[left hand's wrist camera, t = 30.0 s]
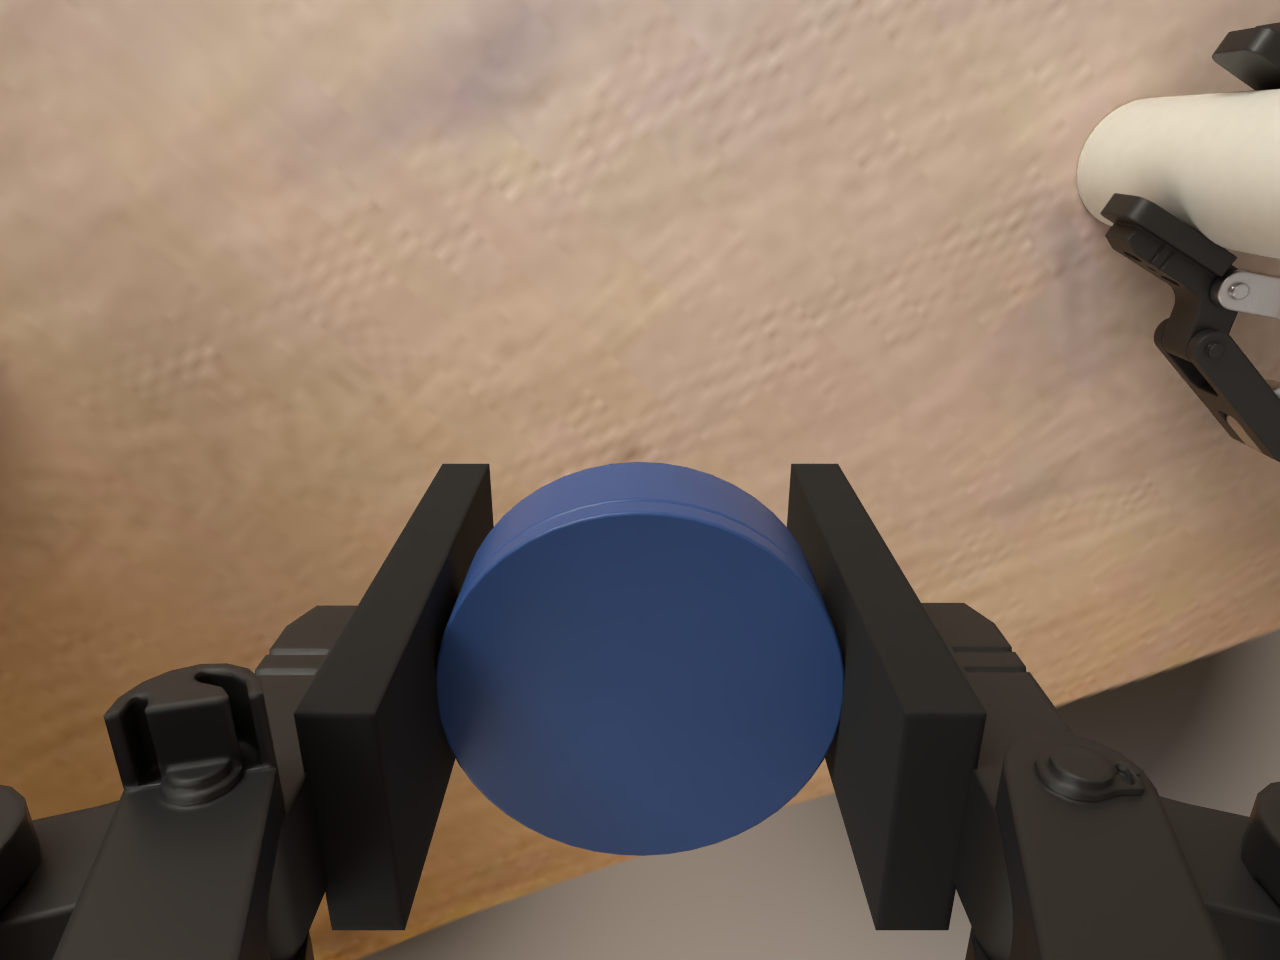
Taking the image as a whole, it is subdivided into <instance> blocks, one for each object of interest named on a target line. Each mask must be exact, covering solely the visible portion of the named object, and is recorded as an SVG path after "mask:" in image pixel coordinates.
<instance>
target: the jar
mask: <svg viewBox="0 0 1280 960" xmlns="http://www.w3.org/2000/svg"><path fill="white" fill-rule="evenodd" d="M1077 184H1078V189H1079V194H1080V196H1081V199H1082V201H1083V203H1084V205H1085V207H1086V208H1087V209H1088V211H1089V212H1090V213H1091V214H1092V215H1093V216H1094V217H1095V218H1096V219H1098V220H1099V221H1101V222H1103V223H1105V224H1107V225H1110V226H1112V225H1113V224H1114V223H1112V222H1111V221H1109V220H1107V219H1106V218H1104V217H1103V216H1102V215H1101V214H1100V213H1101V211H1102V210H1103V208H1104V207H1105V206H1106V204H1107V203H1108V201H1109V200H1110V199H1111V197H1112V196H1113V194H1114V193H1118V194H1126V195H1134V196H1139V197H1142V198H1145V199H1147V200H1149V201H1151V202H1153V203H1155V204H1157V205H1158V206H1160V207H1161V208H1163V209H1164V210H1166V211H1167V212H1169V213H1170V214H1172V215H1173V216H1175V217H1177V218H1178V219H1180V220H1181V221H1183V222H1184V223H1186V224H1187V225H1189V226H1190V227H1192V228H1193V229H1195V230H1196V231H1198V232H1199V233H1201V234H1202V235H1204V236H1206V237H1207V238H1208V239H1210V240H1211V241H1213V242H1214V243H1215V244H1217V245H1219V246H1221V247H1222V248H1224V249H1229V250H1234V251H1239V252H1244V253H1250V254H1255V255H1260V256H1265V257H1270V258H1275V259H1280V89H1271V90H1256V91H1242V92H1228V93H1214V94H1199V95H1185V96H1171V97H1157V98H1146V99H1139V100H1136V101H1132V102H1130V103H1127V104H1125V105H1123V106H1121V107H1119V108H1117V109H1116V110H1114V111H1113V112H1111V113H1110V114H1109V115H1108V116H1106V117H1105V118H1104V119H1103V120H1102V121H1101V122H1100V123H1099V124H1098V125H1097V126H1096V128H1095V129H1094V130H1093V132H1092V133H1091V134H1090V136H1089V138H1088V139H1087V141H1086V143H1085V145H1084V147H1083V150H1082V152H1081V155H1080V159H1079V163H1078V169H1077Z"/></svg>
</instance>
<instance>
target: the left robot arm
mask: <svg viewBox="0 0 1280 960" xmlns="http://www.w3.org/2000/svg"><path fill="white" fill-rule="evenodd" d="M493 528H494V527H493V512H492V498H491V483H490V469H489V464H442V466H441V468H440V469H439V471H438V473H437V474H436V476H435V478H434V479H433V481H432V483H431V484H430V486H429V488H428V489H427V491H426V493H425V494H424V496H423V498H422V499H421V501H420V503H419V504H418V506H417V508H416V509H415V511H414V513H413V514H412V516H411V518H410V520H409V521H408V523H407V525H406V526H405V528H404V530H403V531H402V533H401V535H400V536H399V538H398V540H397V541H396V543H395V545H394V546H393V548H392V550H391V551H390V553H389V555H388V556H387V558H386V560H385V561H384V563H383V565H382V566H381V568H380V570H379V571H378V573H377V575H376V576H375V578H374V580H373V581H372V583H371V585H370V586H369V588H368V590H367V592H366V593H365V595H364V597H363V598H362V600H361V602H360V603H359V605H358V606H316V607H314V608H313V609H311V610H310V611H308V612H307V613H306V614H304V615H303V616H301V617H300V618H298V619H297V620H295V621H294V622H292V623H291V624H289V625H288V626H286V628H285V629H284V631H283V632H282V633H281V635H280V636H279V638H278V639H277V640H276V642H275V643H274V645H273V646H272V647H271V649H270V650H269V651H270V653H269V655H266V656H265V657H264V659H263V660H262V661H261V663H260V664H259V666H258V667H257V668H256V670H255V674H254V673H253V672H252V671H251V670H249V669H248V668H244V667H239V666H235V665H231V664H199V665H195V666H190V667H186V668H181V669H177V670H172V671H169V672H166V673H164V674H162V675H159V676H157V677H154V678H152V679H149V680H147V681H145V682H142V683H140V684H139V685H137V686H136V687H134V688H133V689H131V690H130V691H128V692H127V693H125V694H124V695H122V696H121V697H119V698H118V699H117V700H116V701H115V703H114V704H113V705H112V706H111V707H110V709H109V710H108V711H107V712H106V713H105V715H104V719H105V723H106V726H107V730H108V734H109V737H110V741H111V745H112V748H113V752H114V755H115V759H116V763H117V766H118V770H119V774H120V777H121V781H122V784H123V788H124V791H123V794H122V796H121V798H120V800H119V801H115V802H112V803H108V804H105V805H101V806H97V807H93V808H88V809H84V810H79V811H74V812H70V813H65V814H60V815H56V816H51V817H47V818H42V819H37V820H33V821H32V819H31V816H30V813H29V810H28V807H27V804H26V801H25V798H24V797H23V796H22V795H21V794H19V793H18V792H17V791H16V790H14V789H13V788H12V787H8V786H2V785H0V960H314V956H313V949H312V943H311V938H310V933H309V929H310V927H311V924H312V922H313V919H314V917H315V915H316V912H317V910H318V907H319V905H320V903H321V900H322V898H323V895H324V893H326V898H327V904H328V910H329V915H330V921H331V926H332V930H405V927H406V924H407V921H408V917H409V914H410V910H411V907H412V904H413V900H414V897H415V893H416V890H417V887H418V883H419V880H420V877H421V873H422V870H423V866H424V863H425V860H426V856H427V853H428V849H429V846H430V843H431V839H432V836H433V832H434V829H435V826H436V822H437V819H438V816H439V812H440V809H441V805H442V802H443V799H444V795H445V792H446V788H447V785H448V782H449V778H450V775H451V772H452V768H453V765H454V761H455V756H454V754H453V752H452V750H451V748H450V746H449V745H448V742H447V739H446V736H445V734H444V731H443V728H442V725H441V722H440V714H439V706H438V696H437V686H436V665H437V656H438V652H439V648H440V645H441V641H442V637H443V634H444V631H445V628H446V626H447V623H448V621H449V618H450V615H451V613H452V610H453V608H454V605H455V603H456V600H457V598H458V595H459V592H460V590H461V587H462V585H463V582H464V580H465V577H466V575H467V572H468V570H469V567H470V565H471V563H472V561H473V559H474V556H475V554H476V552H477V550H478V549H479V547H480V546H481V544H482V543H483V541H484V540H485V538H486V536H487V535H488V533H489V532H490V531H491V530H492V529H493ZM787 528H788V530H789V531H790V532H791V534H792V535H793V537H794V538H795V540H796V541H797V543H798V544H799V545H800V547H801V549H802V551H803V553H804V555H805V557H806V559H807V561H808V563H809V565H810V567H811V569H812V572H813V575H814V577H815V580H816V582H817V585H818V587H819V590H820V592H821V595H822V597H823V600H824V602H825V605H826V607H827V610H828V613H829V615H830V618H831V620H832V623H833V625H834V628H835V631H836V634H837V637H838V640H839V644H840V647H841V650H842V657H843V664H844V670H845V676H844V690H843V700H842V709H841V718H840V722H839V725H838V728H837V731H836V734H835V737H834V740H833V742H832V744H831V746H830V748H829V750H828V752H827V754H826V756H825V760H826V763H827V766H828V770H829V773H830V777H831V780H832V783H833V787H834V790H835V793H836V797H837V800H838V804H839V807H840V810H841V814H842V817H843V820H844V824H845V827H846V830H847V834H848V837H849V841H850V844H851V848H852V851H853V854H854V858H855V861H856V865H857V868H858V871H859V875H860V878H861V881H862V885H863V888H864V892H865V895H866V898H867V902H868V905H869V909H870V912H871V915H872V919H873V922H874V925H875V929H876V930H948V929H949V924H950V918H951V913H952V907H953V901H954V896H955V890H957V892H958V894H959V897H960V899H961V902H962V904H963V906H964V909H965V911H966V914H967V916H968V918H969V921H970V923H971V926H972V928H971V933H970V938H969V943H968V948H967V954H966V959H965V960H1280V782H1276V783H1271V784H1269V785H1268V786H1267V787H1265V788H1264V789H1263V790H1262V791H1261V792H1259V793H1258V794H1257V797H1256V800H1255V803H1254V806H1253V809H1252V812H1251V815H1250V817H1246V816H1242V815H1237V814H1232V813H1228V812H1223V811H1219V810H1214V809H1210V808H1205V807H1200V806H1195V805H1191V804H1186V803H1182V802H1178V801H1175V800H1171V799H1168V798H1164V797H1161V796H1159V794H1158V792H1157V790H1156V788H1155V787H1154V785H1153V784H1152V782H1151V781H1150V780H1149V778H1148V777H1147V775H1146V774H1145V772H1144V771H1143V770H1142V769H1141V768H1139V767H1138V766H1137V765H1136V764H1134V763H1133V762H1132V761H1130V760H1129V759H1128V758H1126V757H1125V756H1124V755H1122V754H1121V753H1119V752H1117V751H1115V750H1113V749H1111V748H1109V747H1107V746H1104V745H1102V744H1100V743H1098V742H1096V741H1094V740H1090V739H1086V738H1082V737H1078V736H1075V734H1074V733H1073V732H1072V730H1071V729H1070V727H1069V726H1068V725H1067V723H1066V722H1065V720H1064V719H1063V718H1062V716H1061V715H1060V714H1059V712H1058V711H1057V709H1056V708H1055V707H1054V705H1053V704H1052V702H1051V701H1050V700H1049V698H1048V697H1047V696H1046V694H1045V693H1044V691H1043V690H1042V689H1041V687H1040V686H1039V684H1038V683H1037V682H1036V680H1035V679H1034V678H1033V676H1032V675H1031V673H1030V672H1026V666H1025V665H1024V664H1023V662H1022V661H1021V660H1020V658H1019V657H1018V655H1017V654H1016V653H1015V652H1012V647H1011V646H1010V644H1009V643H1008V642H1007V640H1006V639H1005V637H1004V636H1003V635H1002V633H1001V632H1000V630H999V629H998V628H997V626H996V625H995V624H994V623H993V622H991V621H990V620H989V619H987V618H986V617H984V616H983V615H981V614H980V613H978V612H977V611H975V610H974V609H972V608H971V607H969V606H968V605H966V604H965V603H921V602H920V601H919V599H918V597H917V596H916V594H915V592H914V591H913V589H912V587H911V586H910V584H909V582H908V581H907V579H906V577H905V575H904V574H903V572H902V570H901V569H900V567H899V565H898V564H897V562H896V560H895V559H894V557H893V555H892V554H891V552H890V550H889V549H888V547H887V545H886V544H885V542H884V540H883V539H882V537H881V535H880V534H879V532H878V530H877V529H876V527H875V525H874V524H873V522H872V520H871V519H870V517H869V515H868V514H867V512H866V510H865V509H864V507H863V505H862V503H861V502H860V500H859V498H858V497H857V495H856V493H855V492H854V490H853V488H852V487H851V485H850V483H849V482H848V480H847V478H846V477H845V475H844V473H843V472H842V470H841V468H840V467H839V465H838V464H791V477H790V491H789V506H788V520H787Z"/></svg>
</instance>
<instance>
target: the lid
mask: <svg viewBox="0 0 1280 960" xmlns="http://www.w3.org/2000/svg"><path fill="white" fill-rule="evenodd" d="M844 676H845V670H844V664H843V657H842V650H841V647H840V644H839V640H838V637H837V634H836V631H835V628H834V625H833V623H832V620H831V618H830V615H829V613H828V610H827V607H826V605H825V602H824V600H823V597H822V595H821V592H820V590H819V587H818V585H817V582H816V580H815V577H814V575H813V572H812V569H811V567H810V565H809V563H808V561H807V559H806V557H805V555H804V553H803V551H802V549H801V547H800V545H799V544H798V543H797V541H796V540H795V538H794V537H793V535H792V534H791V532H790V531H789V530H788V528H787V527H786V526H785V525H784V524H783V523H782V522H781V521H780V520H779V519H778V518H777V516H776V515H775V514H774V513H773V512H772V511H770V510H769V509H768V508H767V507H766V506H764V505H763V504H762V503H761V502H759V501H758V500H757V499H756V498H755V497H753V496H751V495H750V494H748V493H746V492H745V491H743V490H741V489H740V488H738V487H737V486H735V485H733V484H731V483H729V482H726V481H724V480H722V479H720V478H717V477H715V476H713V475H710V474H707V473H704V472H701V471H697V470H694V469H691V468H687V467H681V466H676V465H670V464H664V463H646V462H631V463H618V464H609V465H604V466H599V467H594V468H589V469H585V470H582V471H579V472H576V473H573V474H570V475H567V476H564V477H562V478H560V479H558V480H556V481H554V482H552V483H550V484H548V485H545V486H543V487H541V488H540V489H538V490H537V491H535V492H534V493H532V494H531V495H529V496H528V497H526V498H525V499H523V500H521V501H520V502H519V503H518V504H517V505H516V506H514V507H513V508H512V509H511V510H510V511H509V512H508V513H506V514H505V515H504V516H503V517H502V518H501V519H500V521H499V522H498V523H497V524H496V525H495V526H494V528H493V529H492V530H491V531H490V532H489V533H488V535H487V536H486V538H485V540H484V541H483V543H482V544H481V546H480V547H479V549H478V550H477V552H476V554H475V556H474V559H473V561H472V563H471V565H470V567H469V570H468V572H467V575H466V577H465V580H464V582H463V585H462V587H461V590H460V592H459V595H458V598H457V600H456V603H455V605H454V608H453V610H452V613H451V615H450V618H449V621H448V623H447V626H446V628H445V631H444V634H443V637H442V641H441V645H440V648H439V652H438V656H437V665H436V686H437V696H438V706H439V714H440V722H441V725H442V728H443V731H444V734H445V736H446V739H447V742H448V745H449V746H450V748H451V750H452V752H453V754H454V756H455V758H456V760H457V761H458V763H459V765H460V766H461V768H462V769H463V770H464V772H465V773H466V775H467V776H468V777H469V779H470V780H471V781H472V783H473V784H474V785H475V786H476V787H477V788H478V789H479V790H480V791H481V792H482V793H483V794H484V795H485V796H486V797H487V798H488V800H490V801H491V802H492V803H493V804H495V805H496V806H497V807H498V808H500V809H501V810H502V811H503V812H504V813H506V814H507V815H509V816H510V817H512V818H513V819H515V820H516V821H518V822H520V823H521V824H523V825H524V826H526V827H528V828H530V829H532V830H534V831H536V832H538V833H540V834H542V835H544V836H546V837H548V838H551V839H554V840H557V841H559V842H562V843H565V844H568V845H571V846H575V847H579V848H583V849H587V850H591V851H595V852H603V853H610V854H617V855H639V856H645V855H661V854H671V853H677V852H683V851H689V850H694V849H697V848H701V847H705V846H708V845H712V844H715V843H718V842H721V841H723V840H726V839H728V838H731V837H733V836H736V835H738V834H740V833H742V832H744V831H746V830H748V829H750V828H752V827H754V826H755V825H757V824H759V823H761V822H762V821H763V820H765V819H767V818H768V817H769V816H771V815H772V814H774V813H775V812H777V811H778V810H779V809H781V808H782V807H783V806H784V805H785V804H786V803H788V802H789V801H790V800H791V799H792V798H793V797H794V796H796V794H797V793H798V792H799V791H800V790H801V789H802V788H803V787H804V786H805V784H806V783H807V782H808V781H809V780H810V779H811V778H812V776H813V775H814V773H815V772H816V770H817V769H818V767H819V766H820V764H821V763H822V761H823V760H824V758H825V756H826V754H827V752H828V750H829V748H830V746H831V744H832V742H833V740H834V737H835V734H836V731H837V728H838V725H839V722H840V718H841V709H842V700H843V690H844Z"/></svg>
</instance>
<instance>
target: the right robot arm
mask: <svg viewBox="0 0 1280 960" xmlns="http://www.w3.org/2000/svg"><path fill="white" fill-rule="evenodd" d="M1212 58H1213V60H1214V61H1215V62H1216V63H1218V64H1219V65H1220V66H1222V67H1223V68H1225V69H1226V70H1227V71H1229V72H1230V73H1232V74H1233V75H1234V76H1236V77H1237V78H1239V79H1240V80H1241V81H1243V82H1244V83H1246V84H1247V85H1248V86H1250V87H1251V88H1253V89H1254V90H1255V91H1256V90H1271V89H1280V23H1274V24H1268V25H1262V26H1256V27H1255V28H1250V29H1244V30H1238V31H1232V32H1229V33H1228V34H1227V36H1226V37H1225V38H1224V40H1223V41H1222V43H1221V44H1220V45H1219V47H1218V48H1217V50H1216V51H1215V52H1214V54H1213V55H1212ZM1100 214H1101V215H1102V216H1103V217H1104V218H1106V219H1107V220H1109V221H1111V222H1112V223H1114V224H1113V225H1112V227H1111V228H1110V230H1109V231H1108V232H1107V234H1106V235H1105V236H1106V238H1107V240H1108V241H1109V243H1110V245H1111V246H1112V248H1113V249H1114V250H1116V251H1117V252H1119V253H1121V254H1122V255H1124V256H1125V257H1127V258H1128V259H1130V260H1132V261H1133V262H1135V263H1137V264H1138V265H1139V266H1141V267H1143V268H1144V269H1146V270H1147V271H1149V272H1150V273H1152V274H1154V275H1155V276H1157V277H1158V278H1160V279H1161V280H1163V281H1165V282H1166V283H1168V284H1169V285H1170V286H1171V287H1172V289H1173V291H1174V293H1175V305H1174V308H1173V310H1172V313H1171V316H1170V318H1168V319H1166V320H1164V321H1163V322H1161V323H1160V324H1159V326H1158V327H1157V329H1156V330H1155V333H1154V342H1155V344H1156V346H1157V347H1158V348H1159V350H1160V351H1161V352H1162V353H1163V354H1164V356H1165V357H1166V358H1167V359H1168V360H1169V362H1170V363H1171V364H1172V365H1173V367H1174V368H1175V369H1176V370H1177V371H1178V373H1179V374H1180V375H1181V376H1182V378H1183V379H1184V380H1185V381H1186V382H1187V384H1188V385H1189V386H1190V387H1191V388H1192V390H1193V391H1194V392H1195V393H1196V395H1197V396H1198V397H1199V398H1200V399H1201V401H1202V402H1203V403H1204V404H1205V405H1206V407H1207V408H1208V409H1209V410H1210V412H1211V413H1212V414H1213V415H1214V416H1215V418H1216V419H1217V420H1218V421H1219V422H1220V424H1221V425H1222V426H1223V427H1224V429H1225V430H1226V431H1227V432H1228V433H1229V435H1230V436H1231V437H1232V438H1234V439H1236V440H1238V441H1239V442H1241V443H1243V444H1245V445H1247V446H1249V447H1251V448H1253V449H1255V450H1257V451H1259V452H1261V453H1263V454H1265V455H1267V456H1269V457H1271V458H1273V459H1275V460H1277V461H1278V462H1280V383H1279V382H1276V381H1273V380H1264V378H1263V377H1262V376H1261V375H1260V373H1259V372H1258V371H1257V370H1256V368H1255V367H1254V366H1253V364H1252V363H1251V362H1250V361H1249V359H1248V358H1247V357H1246V356H1245V354H1244V353H1243V352H1242V350H1241V349H1240V348H1239V347H1238V345H1237V344H1236V343H1235V342H1234V340H1233V339H1232V338H1231V337H1230V336H1229V332H1230V330H1231V327H1232V325H1233V322H1234V320H1235V317H1236V315H1237V313H1238V312H1243V313H1249V314H1254V315H1259V316H1265V317H1270V318H1275V319H1280V276H1276V275H1271V274H1266V273H1260V272H1255V271H1250V270H1243V269H1238V268H1235V267H1234V266H1232V263H1233V262H1234V261H1235V260H1236V258H1237V257H1236V256H1234V255H1233V254H1231V253H1230V252H1228V251H1227V250H1225V249H1224V248H1222V247H1221V246H1219V245H1217V244H1215V243H1214V242H1213V241H1211V240H1210V239H1208V238H1207V237H1206V236H1204V235H1202V234H1201V233H1199V232H1198V231H1196V230H1195V229H1193V228H1192V227H1190V226H1189V225H1187V224H1186V223H1184V222H1183V221H1181V220H1180V219H1178V218H1177V217H1175V216H1173V215H1172V214H1170V213H1169V212H1167V211H1166V210H1164V209H1163V208H1161V207H1160V206H1158V205H1157V204H1155V203H1153V202H1151V201H1149V200H1147V199H1145V198H1142V197H1139V196H1134V195H1126V194H1118V193H1114V194H1113V196H1112V197H1111V199H1110V200H1109V201H1108V203H1107V204H1106V206H1105V207H1104V208H1103V210H1102V211H1101V213H1100Z"/></svg>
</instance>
